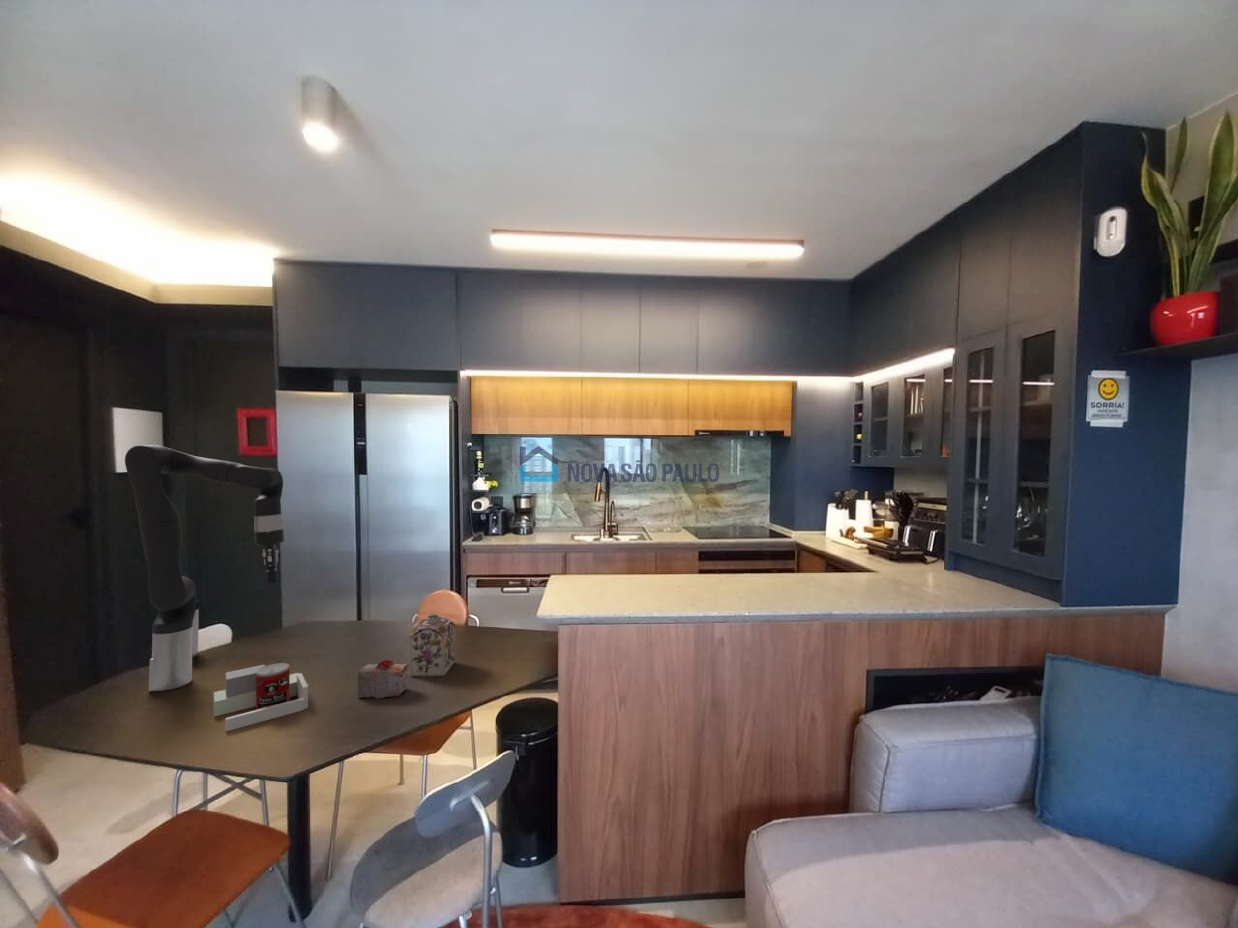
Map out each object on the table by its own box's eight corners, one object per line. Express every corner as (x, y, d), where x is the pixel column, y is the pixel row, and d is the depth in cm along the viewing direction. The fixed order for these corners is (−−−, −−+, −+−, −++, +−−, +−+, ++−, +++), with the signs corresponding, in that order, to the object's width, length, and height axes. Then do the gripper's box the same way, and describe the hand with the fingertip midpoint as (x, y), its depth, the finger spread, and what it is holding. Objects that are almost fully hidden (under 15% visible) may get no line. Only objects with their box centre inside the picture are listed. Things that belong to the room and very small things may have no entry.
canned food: (253, 717, 129) (254, 676, 129) (258, 704, 136) (258, 666, 136) (287, 710, 133) (288, 670, 133) (290, 698, 140) (290, 660, 140)
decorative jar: (456, 662, 167) (456, 610, 167) (445, 676, 155) (445, 621, 155) (421, 662, 166) (422, 611, 167) (407, 677, 155) (408, 621, 155)
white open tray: (215, 734, 121) (215, 698, 121) (213, 706, 135) (214, 674, 135) (308, 708, 134) (308, 676, 134) (297, 685, 148) (298, 656, 148)
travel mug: (195, 651, 176) (196, 597, 176) (199, 656, 172) (200, 600, 172) (172, 656, 171) (173, 601, 172) (176, 661, 167) (177, 604, 167)
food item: (411, 687, 148) (412, 655, 148) (402, 699, 140) (403, 665, 140) (366, 689, 146) (366, 656, 147) (354, 701, 138) (354, 667, 139)
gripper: (256, 529, 158) (259, 581, 158) (252, 532, 147) (256, 588, 147) (284, 526, 162) (287, 576, 162) (282, 529, 151) (285, 583, 151)
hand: (272, 582), depth 154 cm, fingers closed
